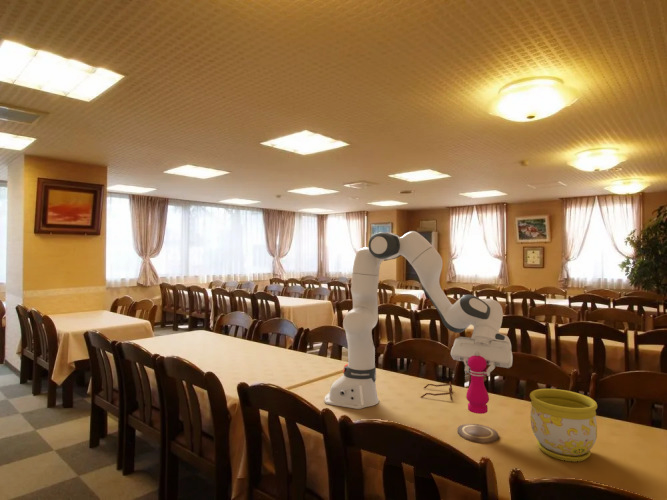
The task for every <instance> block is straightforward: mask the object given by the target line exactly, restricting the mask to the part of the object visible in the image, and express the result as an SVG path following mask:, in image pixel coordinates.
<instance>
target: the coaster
mask: <svg viewBox="0 0 667 500" xmlns="http://www.w3.org/2000/svg"><path fill="white" fill-rule="evenodd" d="M456 429H457V430H456V431H457V435H459V436H460V437H461V438H463V439H464V440H466V441H469V442H472V443H473V442H474V443H479V444H488V443H489V444H490V443H495V442H496V441H498V439H499V433H498V431H496V429H494V428H492V427H490V426H488V425H483V424H478V423H464V424H461V425H458V427H457V428H456Z"/></svg>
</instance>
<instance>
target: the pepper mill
mask: <svg viewBox="0 0 667 500" xmlns="http://www.w3.org/2000/svg"><path fill="white" fill-rule="evenodd" d="M479 355H480V353H479V352H478V351H475V352H474V356H471V357H470V358H469V359H468V364H467V366H469V367H470V370H469V371H470V373H469V375H470V384H469V386H468V388H467V391H466V397H465V398H466V400H467V401H468V403H467V410H468V411H469V412H471V413H473V414H478V415H479V414H480V415H482V414H483V415H484V414H486V413H488V409H489V407H488V405H487V404H488V403H489V401H490V396H489V392H488V391H487V388H486V386H485V383H484V382H485V381H484V380H485V379H484V377H485V375H484V370H485V369H487V366H488V365H487V363H486V360H485V359H484V358H483V357H482V356H479Z"/></svg>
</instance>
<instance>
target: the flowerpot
mask: <svg viewBox="0 0 667 500" xmlns="http://www.w3.org/2000/svg"><path fill="white" fill-rule="evenodd" d="M529 398H530V400H531V401H530V405H531V407H530V408H531V409H530V415H529V417H530V419H529V420H530V426H531V430H532V433H533V435H534V436H535V438H536V439H537V440H536V445H537V446H538V447H539V449H540V450H541V452H543V453H544V454H546V455H548V456H549V457H552V458H553V459H556V460H561V461H564V460H565V462H571V461H572V462H577V461H578V462H582V461H583V462H584V461H585V460H587V458H589V457H590V456H591V449H592V448H593V447H594V445H595V443H596V441H597V438H598V423H597V418H596V415H597V412H596V410H597V409H598V404H597V402H596V401H595V400H594V399H593V398H591V397H590V396H588V395H586V394H585V395H584V394H583V393H578V392H575V391H570V390H565V389H558V388H539V389H534V390H532V391H531V392H530V393H529ZM578 462H577V463H578Z"/></svg>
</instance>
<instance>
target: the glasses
mask: <svg viewBox="0 0 667 500" xmlns="http://www.w3.org/2000/svg"><path fill="white" fill-rule="evenodd" d="M428 386H431V387H432V386H434V387H437V388H438V387H444V386H445V387H446V386H449V388H448V392H443V393H433V392H425V393H424V394H423V395H421V396H419V398H424V397H425V396H427V395H428V396H429V395H431V396H445V395H449V398H450V400H453V395H452V394H453V387H452V382H451V381H449V383H444V384H432V383H428V384H426V386H424V387H423V388H425V389H426V388H428Z"/></svg>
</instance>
